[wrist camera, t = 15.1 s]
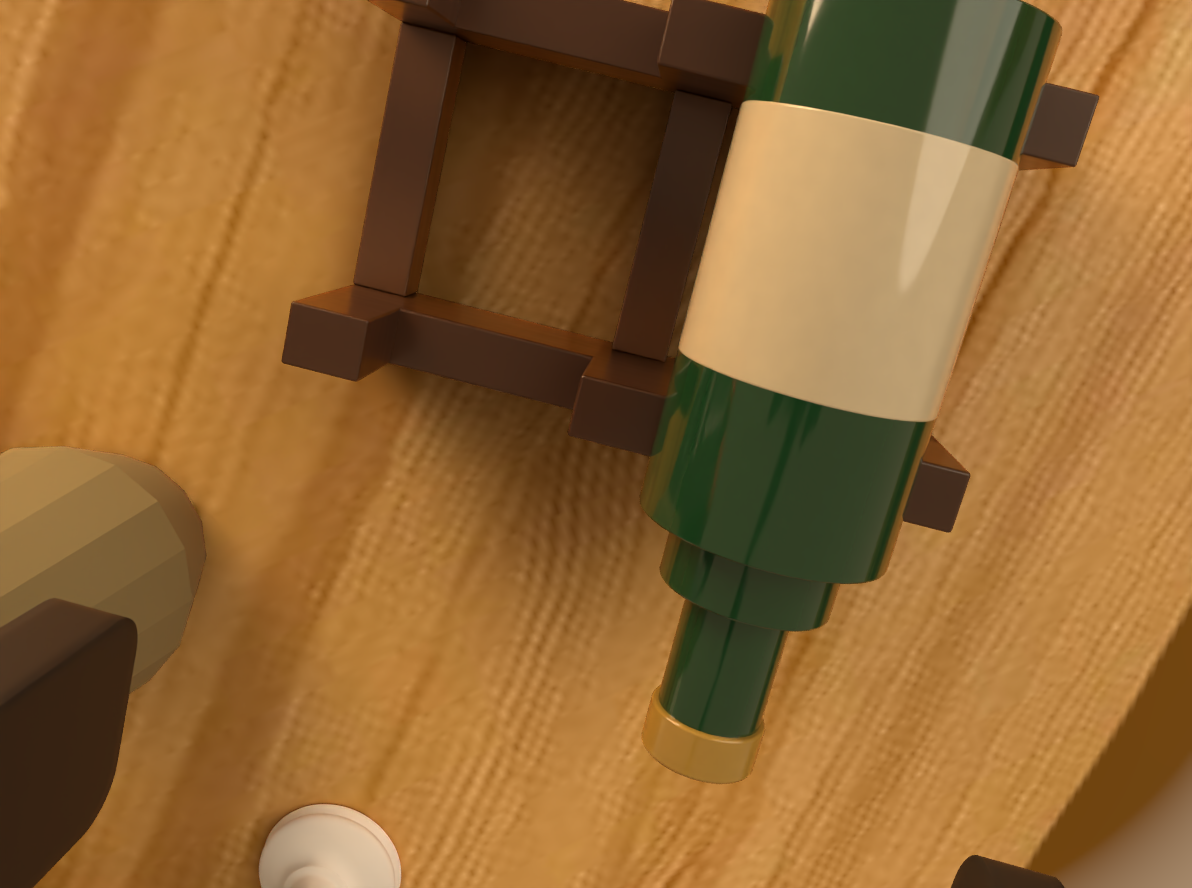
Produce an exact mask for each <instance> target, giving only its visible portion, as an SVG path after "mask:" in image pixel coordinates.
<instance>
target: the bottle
mask: <svg viewBox="0 0 1192 888" xmlns="http://www.w3.org/2000/svg"><path fill="white" fill-rule="evenodd" d="M1061 36H1062V27H1061V25H1060V24H1059V22H1058V21H1057V20H1055V19H1054V18H1053V17H1052V16H1050V15H1049V14H1047V13H1046V12H1044V11H1042V10H1041V9H1039V8H1037V7H1035V6H1033V5H1031V4H1029V3H1026V2H1024V1H1022V0H769V2H768V6H767V10H766V14H765V18H764V22H763V25H762V29H761V33H760V37H759V41H758V45H757V48H756V52H755V56H754V60H753V64H752V68H751V71H750V75H749V79H748V83H747V87H746V91H745V94H744V98H743V102H742V104H741V106H740V110H739V114H738V118H737V121H736V125H735V129H734V133H733V137H732V140H731V144H730V148H729V152H728V156H727V160H726V163H725V167H724V171H723V175H722V179H721V183H720V186H719V190H718V194H717V198H716V202H715V206H714V209H713V213H712V217H711V221H710V225H709V229H708V232H707V236H706V240H705V244H704V248H703V252H702V255H701V259H700V263H699V267H698V271H697V275H696V278H695V282H694V286H693V290H692V294H691V298H690V301H689V305H688V309H687V313H686V317H685V321H684V324H683V328H682V332H681V336H680V340H679V344H678V351H677V355H676V358H675V362H674V366H673V370H672V374H671V378H670V381H669V385H668V389H667V393H666V397H665V401H664V404H663V408H662V412H661V416H660V420H659V424H658V427H657V431H656V435H655V439H654V443H653V446H652V450H651V454H650V458H649V462H648V466H647V469H646V473H645V477H644V481H643V485H642V489H641V492H640V496H639V498H640V504H641V507H642V509H643V510H644V511H645V513H646V514H647V515H648V516H649V517H650V518H651V519H652V520H653V521H654V522H656V523H657V524H658V525H660V526H661V527H662V528H664V529H665V530H667V531H669V534H668V538H667V542H666V545H665V549H664V553H663V556H662V560H661V564H660V574H661V576H662V578H663V580H664V581H665V583H666V584H667V585H668V586H669V587H670V588H671V589H673V590H674V591H675V592H676V593H678V594H679V595H681V596H682V597H683V598H685V601H684V605H683V608H682V612H681V615H680V619H679V623H678V626H677V630H676V633H675V637H674V640H673V644H672V648H671V651H670V655H669V658H668V662H667V666H666V669H665V673H664V676H663V680H662V683H661V685H660V686H658V687H657V688H656V689H655V690H654V692H653V693H652V697H651V700H650V704H649V708H648V711H647V715H646V718H645V722H644V726H643V729H642V733H641V734H642V742H643V744H644V747H645V748H646V750H647V751H648V753H649V754H650V755H651V756H652V757H653V758H654V759H655V760H657V761H658V762H659V763H661V764H662V765H663V766H665V767H667V768H668V769H670V770H672V771H674V772H676V773H678V774H680V775H683V776H685V777H688V778H691V779H694V780H698V781H702V782H707V783H714V784H730V783H736V782H739V781H742V780H744V779H745V778H747V777H748V776H749V775H750V774H751V772H752V771H753V768H754V765H755V762H756V759H757V755H758V752H759V749H760V746H761V742H762V739H763V736H764V733H765V723H764V720H763V715H764V711H765V708H766V705H767V702H768V698H769V695H770V692H771V689H772V685H773V682H774V679H775V676H776V672H777V669H778V666H779V663H780V659H781V656H782V653H783V650H784V646H785V643H786V640H787V636H788V633H789V631H809V630H814V629H817V628H820V627H822V626H823V625H825V624H826V623H827V622H828V620H829V618H830V615H831V612H832V609H833V605H834V602H835V599H836V596H837V593H838V590H839V586H840V584H858V583H866V582H871V581H874V580H877V579H879V578H880V577H882V576H883V575H884V574H885V573H886V571H887V569H888V566H889V563H890V560H891V557H892V554H893V551H894V547H895V544H896V541H897V538H898V535H899V532H900V529H901V526H902V523H903V520H904V517H905V514H906V511H907V508H908V505H909V502H910V498H911V495H912V492H913V489H914V486H915V483H916V480H917V477H918V474H919V471H920V468H921V465H922V462H923V459H924V456H925V453H926V449H927V446H928V443H929V440H930V437H931V434H932V431H933V428H934V425H935V422H936V419H937V417H938V416H939V413H940V410H941V407H942V404H943V400H944V397H945V394H946V391H947V388H948V385H949V382H950V379H951V376H952V373H953V370H954V367H955V364H956V361H957V358H958V355H959V351H960V348H961V345H962V342H963V339H964V336H965V333H966V330H967V327H968V324H969V321H970V318H971V315H972V312H973V309H974V306H975V303H976V299H977V296H978V293H979V290H980V287H981V284H982V281H983V278H984V275H985V272H986V269H987V266H988V263H989V260H990V257H991V254H992V250H993V247H994V244H995V241H996V238H997V235H998V232H999V229H1000V226H1001V223H1002V220H1003V217H1004V214H1005V211H1006V208H1007V205H1008V202H1009V198H1010V195H1011V192H1012V189H1013V186H1014V183H1015V180H1016V177H1017V174H1018V171H1019V165H1020V162H1021V159H1022V155H1023V152H1024V149H1025V146H1026V143H1027V140H1028V137H1029V134H1030V131H1031V128H1032V125H1033V122H1034V119H1035V116H1036V113H1037V109H1038V106H1039V103H1040V100H1041V97H1042V94H1043V91H1044V88H1045V85H1046V82H1047V79H1048V76H1049V73H1050V70H1051V67H1052V64H1053V60H1054V57H1055V54H1056V51H1057V48H1058V45H1059V42H1060V39H1061Z"/></svg>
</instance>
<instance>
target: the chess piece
mask: <svg viewBox="0 0 1192 888" xmlns="http://www.w3.org/2000/svg"><path fill="white" fill-rule="evenodd" d="M259 879H260V884H261V887H262V888H399V887H400V882H401V865H400V860H399V856H398V853H397V851H396V849H395V846H394V845H393V843H392V841H391V839H390V838H389V837H388V835H387V834H386V833H385V832H384V830H383V829H382V828H381V827H380V826H379V825H378V824H376V823H375V822H374V821H373V820H371V819H370V818H368V817H367V816H365V815H363V814H362V813H360V812H358V811H355V810H353V809H350V808H347V807H343V806H339V805H332V804H317V805H310V806H306V807H302V808H300V809H297V810H295V811H293V812H291V813H289V814H288V815H286V816H285V817H284V818H282V819H281V820H280V821H279V822H278V823H277V824H276V825H275V826H274V828H273V829H272V831H271V832H270V834H269V836H268V838H267V840H266V843H265V846H264V848H263V851H262V853H261V857H260V862H259Z"/></svg>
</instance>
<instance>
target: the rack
mask: <svg viewBox="0 0 1192 888" xmlns="http://www.w3.org/2000/svg"><path fill="white" fill-rule="evenodd" d="M368 1H369V2H371V3H373V4H374V5H376V6H378V7H379V8H381V9H382V10H384V11H385V12H387V13H389V14H390V15H392V16H394V17H396V18H397V19H399V20H401V21H402V23H401V25H400V31H399V36H398V42H397V47H396V52H395V58H394V63H393V69H392V74H391V80H390V85H389V91H388V96H387V101H386V107H385V112H384V118H383V123H382V129H381V134H380V139H379V145H378V150H377V156H376V161H375V167H374V172H373V178H372V183H371V188H370V194H369V199H368V205H367V210H366V216H365V221H364V226H363V232H362V237H361V243H360V248H359V254H358V259H357V265H356V270H355V275H354V281H353V282H354V285H351V286H347V287H344V288H340V289H336V290H333V291H329V292H326V293H322V294H318V295H315V296H311V297H308V298H304V299H300V300H297V301H293V302H292V303H291V309H290V315H289V321H288V326H287V332H286V338H285V344H284V350H283V356H282V362H283V363H284V364H288V365H292V366H296V367H300V368H304V369H308V370H312V371H316V372H320V373H324V374H327V375H331V376H335V377H339V378H343V379H347V380H351V381H355V382H356V381H359V380H360V379H362V378H364V377H366V376H367V375H369V374H371V373H373V372H374V371H376V370H378V369H380V368H381V367H383V366H385V365H387V364H388V363H390V364H394V365H398V366H402V367H406V368H410V369H414V370H417V371H421V372H425V373H429V374H433V375H437V376H441V377H445V378H449V379H453V380H457V381H461V382H465V383H469V384H472V385H476V386H480V387H484V388H488V389H492V390H496V391H500V392H504V393H508V394H512V395H516V396H520V397H524V398H528V399H531V400H535V401H539V402H543V403H547V404H551V405H555V406H559V407H563V408H567V409H571V410H573V412H572V416H571V420H570V424H569V428H568V435H569V436H571V437H575V438H579V439H583V440H587V441H591V442H595V443H598V444H602V445H606V446H610V447H614V448H618V449H622V450H626V451H630V452H634V453H638V454H642V455H646V456H649V457H650V454H651V450H652V446H653V443H654V439H655V435H656V431H657V427H658V424H659V420H660V416H661V412H662V408H663V404H664V401H665V397H666V393H667V389H668V385H669V381H670V378H671V374H672V370H673V366H674V362H675V358H672V357H668V356H667V353H668V349H669V346H670V342H671V338H672V334H673V330H674V326H675V322H676V319H677V315H678V311H679V307H680V303H681V299H682V295H683V292H684V288H685V284H686V280H687V276H688V272H689V268H690V265H691V261H692V257H693V253H694V249H695V245H696V242H697V238H698V234H699V230H700V226H701V222H702V218H703V215H704V211H705V207H706V203H707V199H708V195H709V191H710V188H711V184H712V180H713V176H714V172H715V168H716V164H717V161H718V157H719V153H720V149H721V145H722V141H723V137H724V134H725V130H726V126H727V122H728V118H729V114H730V111H731V107H734V108H738V109H740V106H741V104H742V102H743V98H744V94H745V91H746V87H747V83H748V79H749V75H750V71H751V68H752V64H753V60H754V56H755V52H756V48H757V45H758V41H759V37H760V33H761V29H762V25H763V22H764V18H765V14H762V13H758V12H753V11H749V10H745V9H741V8H737V7H733V6H729V5H725V4H721V3H716V2H712V1H708V0H671V5H670V9H669V11H664V10H660V9H656V8H652V7H648V6H644V5H640V4H636V3H632V2H628V1H623V0H368ZM466 42H469V43H473V44H477V45H481V46H486V47H490V48H494V49H498V50H502V51H506V52H510V53H514V54H518V55H522V56H526V57H530V58H534V59H538V60H542V61H547V62H551V63H555V64H559V65H563V66H567V67H571V68H575V69H579V70H583V71H587V72H591V73H595V74H599V75H603V76H608V77H612V78H616V79H620V80H624V81H628V82H632V83H636V84H640V85H644V86H648V87H652V88H656V89H660V90H664V91H669V92H673V93H675V94H674V98H673V102H672V106H671V110H670V114H669V118H668V122H667V126H666V130H665V134H664V138H663V142H662V147H661V151H660V155H659V159H658V163H657V167H656V171H655V175H654V179H653V183H652V187H651V191H650V195H649V199H648V203H647V207H646V211H645V216H644V220H643V224H642V228H641V232H640V236H639V240H638V244H637V248H636V252H635V256H634V260H633V264H632V268H631V272H630V276H629V280H628V285H627V289H626V293H625V297H624V301H623V305H622V309H621V313H620V317H619V321H618V325H617V329H616V333H615V337H614V341H613V342H609V341H605V340H601V339H597V338H593V337H589V336H585V335H581V334H577V333H573V332H569V331H565V330H561V329H557V328H553V327H549V326H545V325H542V324H538V323H534V322H530V321H526V320H522V319H518V318H514V317H510V316H506V315H502V314H498V313H494V312H490V311H486V310H482V309H478V308H474V307H470V306H466V305H462V304H458V303H454V302H450V301H446V300H443V299H439V298H435V297H431V296H427V295H423V294H419V293H416V292H417V291H418V286H419V281H420V276H421V271H422V266H423V261H424V256H425V251H426V246H427V241H428V236H429V231H430V226H431V221H432V216H433V211H434V206H435V201H436V196H437V191H438V186H439V181H440V175H441V170H442V165H443V160H444V155H445V150H446V145H447V140H448V135H449V130H450V125H451V120H452V115H453V110H454V105H455V100H456V95H457V90H458V85H459V80H460V75H461V70H462V65H463V60H464V55H465V50H466V45H467V44H466ZM1098 100H1099V96H1098V95H1095V94H1091V93H1087V92H1083V91H1079V90H1075V89H1071V88H1067V87H1062V86H1058V85H1054V84H1050V83H1046V85H1045V88H1044V91H1043V94H1042V97H1041V100H1040V103H1039V106H1038V109H1037V113H1036V116H1035V119H1034V122H1033V125H1032V128H1031V131H1030V134H1029V137H1028V140H1027V143H1026V146H1025V149H1024V152H1023V155H1022V159H1021V162H1020V165H1019V170H1033V169H1049V168H1065V167H1075V166H1076V165H1077V162H1078V159H1079V156H1080V153H1081V150H1082V147H1083V144H1084V141H1085V138H1086V135H1087V132H1088V129H1089V126H1090V123H1091V120H1092V117H1093V114H1094V111H1095V109H1096V106H1097V103H1098ZM969 479H970V473H969V472H968V471H967V470H966V469H965V468H964V467H963V466H962V465H961V464H960V463H959V462H958V461H957V460H956V459H955V458H954V457H953V456H952V455H951V454H950V453H949V452H948V451H947V450H946V449H945V448H944V447H943V446H942V445H941V444H940V443H939V442H938V441H937V440H936V439H935V438H934V437H933V436H932V435H931V437H930V440H929V443H928V446H927V449H926V453H925V456H924V459H923V462H922V465H921V468H920V471H919V474H918V477H917V480H916V483H915V486H914V489H913V492H912V495H911V498H910V502H909V505H908V508H907V511H906V514H905V517H904V520H903V521H904V522H908V523H912V524H916V525H920V526H924V527H928V528H932V529H936V530H940V531H944V532H951V531H952V529H953V526H954V523H955V520H956V517H957V514H958V511H959V508H960V505H961V502H962V499H963V496H964V493H965V490H966V487H967V485H968V482H969Z"/></svg>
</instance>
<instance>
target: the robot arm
mask: <svg viewBox="0 0 1192 888" xmlns="http://www.w3.org/2000/svg"><path fill="white" fill-rule="evenodd" d="M137 643H138V633H137V627H136V624H135V622H134V621H133V620H132V619H130V618H127V617H123V616H120V615H116V614H112V613H109V612H105V611H102V610H98V609H94V608H91V607H87V606H84V605H80V604H76V603H73V602H69V601H66V600H62V599H58V598H51V599H48V600H46V601H44V602H42V603H40V604H39V605H37V606H35V607H34V608H32V609H30V610H29V611H27V612H25V613H24V614H22V615H20V616H19V617H17V618H15V619H14V620H12V621H10V622H9V623H7V624H6V625H4V626H2V627H1V628H0V888H33V887H34V886H35V885H36V884H37V883H38V882H39V881H40V879H41V878H42V877H43V876H44V875H45V874H46V873H47V872H48V871H49V870H50V869H51V868H52V867H53V866H54V865H55V864H56V863H57V862H58V861H59V860H60V859H61V858H62V857H63V856H64V855H65V854H66V853H67V852H68V851H69V850H70V849H71V848H72V846H73V845H74V844H75V843H76V842H77V841H78V840H79V839H80V838H81V837H82V836H83V835H84V834H85V833H86V831H87V830H88V829H89V827H90V826H91V825H92V823H93V822H94V820H95V818H96V817H97V815H98V813H99V811H100V810H101V808H102V806H103V804H104V802H105V800H106V797H107V795H108V792H109V790H110V787H111V784H112V782H113V778H114V775H115V771H116V767H117V762H118V756H119V750H120V744H121V738H122V733H123V727H124V721H125V715H126V709H127V703H128V698H129V692H130V686H131V680H132V674H133V668H134V663H135V657H136V651H137ZM951 888H1064V886H1063V885H1062V883H1061V882H1060V881H1059V880H1058V879H1057V878H1055V877H1053V876H1049V875H1046V874H1042V873H1039V872H1035V871H1032V870H1028V869H1025V868H1021V867H1017V866H1014V865H1010V864H1007V863H1003V862H999V861H996V860H992V859H989V858H985V857H981V856H978V855H972V856H970V857H968V858H967V859H966V860H965V861H964V862H963V864H962V865H961V866H960V868H959V870H958V872H957V874H956V876H955V879H954V881H953V884H952V886H951Z"/></svg>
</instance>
